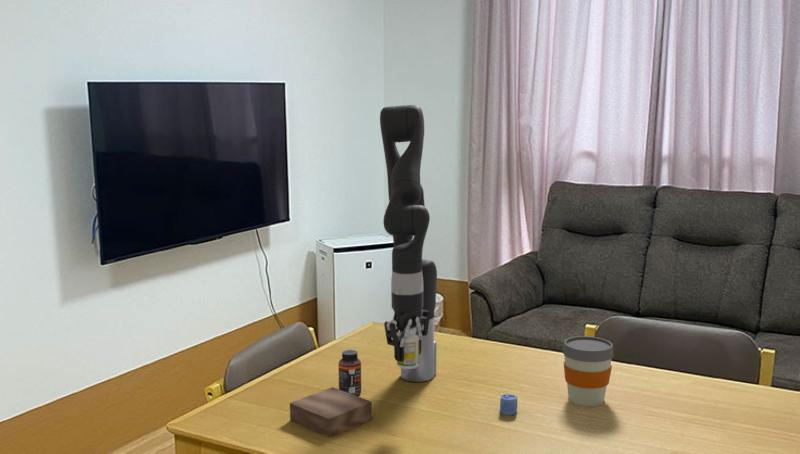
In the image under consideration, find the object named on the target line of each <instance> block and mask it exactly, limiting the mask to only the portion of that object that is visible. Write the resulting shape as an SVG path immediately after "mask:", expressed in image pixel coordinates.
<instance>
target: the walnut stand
mask: <svg viewBox="0 0 800 454" xmlns="http://www.w3.org/2000/svg"><path fill="white" fill-rule="evenodd" d="M370 419H371V420H373V401H372V400H368V399H366V398H363V397H360V396H359V395H356V396H355V395H353V394H350V393H347V392H345V391H342V390H339V388H337V387H334V386H332V387H329V388H326V389H324V390H321V391H318V392H316V393H313V394H310V395H308V396H304V397H302V398H299V399H297V400H294V401H292V402H289V421H291V422H293V423H295V424H297V425H300V426H301V427H304V428H306V429H308V430H311V431H314V432H316V433H318V434H321V435H323V436H325V437H328V438H331V437H333V436H336V435H338V434H341V433H342V432H345V431H347V429H348V430H350V429H352V428H355V427H356V425H357V426H359V425H361V423H362V424H364V423H366V422H369V421H370ZM368 420H369V421H368ZM363 422H364V423H363ZM354 426H355V427H354ZM349 428H350V429H349Z"/></svg>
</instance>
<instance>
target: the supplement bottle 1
mask: <svg viewBox="0 0 800 454" xmlns="http://www.w3.org/2000/svg"><path fill="white" fill-rule="evenodd" d="M358 356H359V354H358V351H357V350H355V349H346V350H343V351H342V352H341V357H342V358H341V359H339V361H338V389H339V390H342V391H345V392H347V393H350V394H353V395H355V396H359V395H360V394H362V360H361V359H359V357H358Z"/></svg>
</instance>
